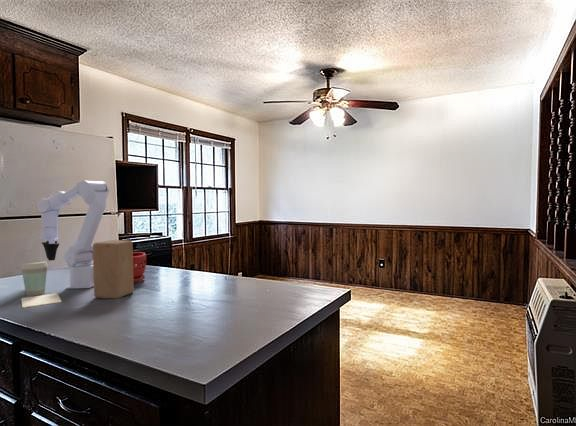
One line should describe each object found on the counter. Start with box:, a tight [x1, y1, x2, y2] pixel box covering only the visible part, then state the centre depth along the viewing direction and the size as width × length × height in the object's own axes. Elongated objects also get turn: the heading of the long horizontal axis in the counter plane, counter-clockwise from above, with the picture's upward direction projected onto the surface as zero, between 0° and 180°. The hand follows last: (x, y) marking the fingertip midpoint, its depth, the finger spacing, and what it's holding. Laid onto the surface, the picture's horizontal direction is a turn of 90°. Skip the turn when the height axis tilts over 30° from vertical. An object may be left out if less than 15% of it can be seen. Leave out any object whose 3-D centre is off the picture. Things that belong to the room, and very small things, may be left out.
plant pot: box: [133, 251, 147, 284], centre depth 159 cm, size 13×13×12 cm
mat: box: [20, 293, 63, 309], centre depth 129 cm, size 14×11×1 cm
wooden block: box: [92, 239, 135, 300], centre depth 136 cm, size 10×10×20 cm
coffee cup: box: [20, 260, 49, 297], centre depth 139 cm, size 9×8×12 cm
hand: (50, 259), depth 155 cm, fingers open, 6 cm apart
